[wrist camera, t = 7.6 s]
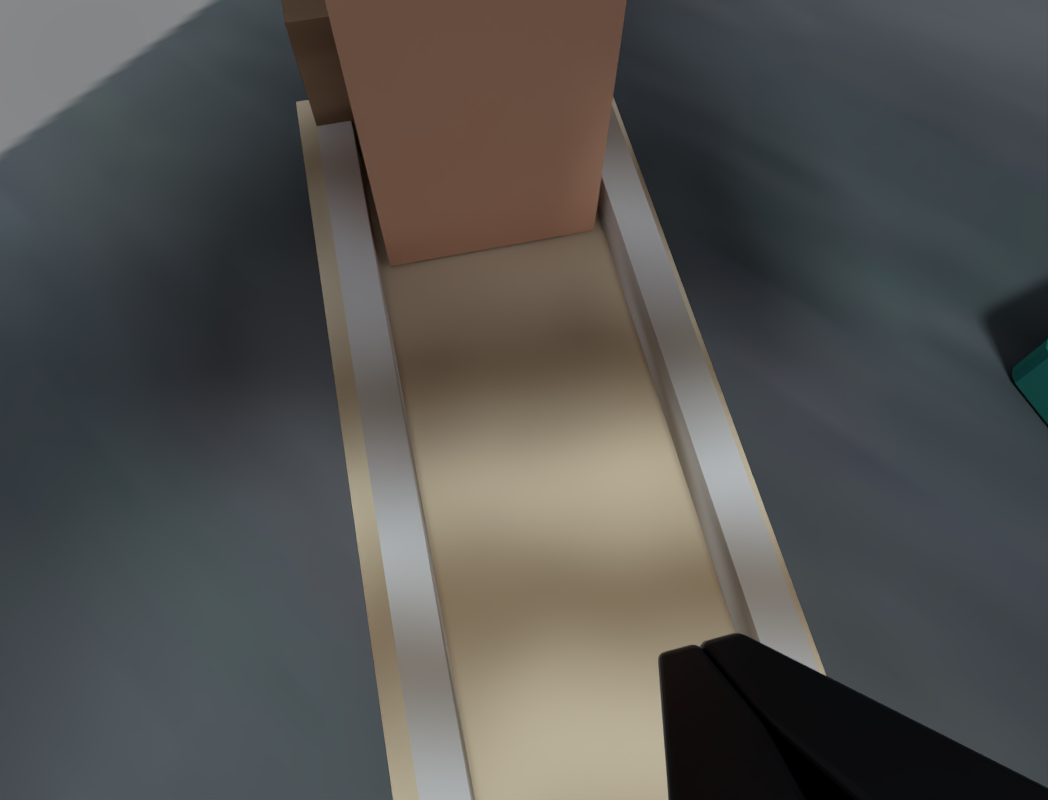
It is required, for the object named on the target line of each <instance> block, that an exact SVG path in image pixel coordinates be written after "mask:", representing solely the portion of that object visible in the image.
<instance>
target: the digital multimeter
mask: <svg viewBox="0 0 1048 800" xmlns="http://www.w3.org/2000/svg"><path fill="white" fill-rule="evenodd" d="M1012 377H1013V380H1014V382H1015V384H1016V385H1017V386H1018V388H1019V389H1020V390H1021V392H1022V393H1023V394H1024V395H1025V397H1026V398H1027V399H1028V401H1029V402H1030V403H1031V404H1032V406H1033V407H1034V408H1035V410H1036V411H1037V412H1038V413H1039V415H1040V416H1041V417H1042V419H1043V420H1044V421H1045V422H1046V424H1047V425H1048V339H1047V340H1046V341H1045V342H1044V343H1042V344H1041V345H1040V346H1039V347H1037V348H1036V349H1035V350H1034V351H1033V352H1031V353H1030V354H1029V355H1028V356H1026V357H1025V358H1024V359H1023V360H1021V361H1020V362H1019V363H1018V364H1017V365H1015V366H1014V367H1013V370H1012Z"/></svg>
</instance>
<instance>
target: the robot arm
mask: <svg viewBox="0 0 1048 800" xmlns="http://www.w3.org/2000/svg"><path fill="white" fill-rule="evenodd" d="M658 669H659V682H660V695H661V709H662V722H663V735H664V749H665V762H666V775H667V789H668V800H1048V788H1047V787H1045V786H1043V785H1041V784H1039V783H1037V782H1035V781H1033V780H1031V779H1029V778H1027V777H1025V776H1023V775H1021V774H1019V773H1017V772H1015V771H1013V770H1011V769H1009V768H1007V767H1005V766H1003V765H1001V764H999V763H997V762H995V761H993V760H991V759H989V758H987V757H985V756H984V755H982V754H980V753H978V752H976V751H974V750H972V749H970V748H968V747H966V746H964V745H962V744H960V743H958V742H956V741H954V740H952V739H950V738H948V737H946V736H944V735H942V734H940V733H938V732H936V731H934V730H932V729H930V728H928V727H926V726H924V725H922V724H920V723H918V722H916V721H914V720H912V719H910V718H908V717H906V716H904V715H902V714H901V713H899V712H897V711H895V710H893V709H891V708H889V707H887V706H885V705H883V704H881V703H879V702H877V701H875V700H873V699H871V698H869V697H867V696H865V695H863V694H861V693H859V692H857V691H855V690H853V689H851V688H849V687H847V686H845V685H843V684H841V683H839V682H837V681H835V680H833V679H831V678H829V677H827V676H825V675H823V674H821V673H819V672H818V671H816V670H814V669H812V668H810V667H808V666H806V665H804V664H802V663H800V662H798V661H796V660H794V659H792V658H790V657H788V656H786V655H784V654H782V653H780V652H778V651H776V650H774V649H772V648H770V647H768V646H766V645H764V644H762V643H760V642H758V641H756V640H754V639H752V638H750V637H748V636H746V635H744V634H741V633H731V634H728V635H724V636H720V637H717V638H713V639H709V640H706V641H704V642H703V643H702V644H701V645H700V647H699V646H697V645H693V644H692V645H687V646H683V647H680V648H676V649H672V650H669V651H665V652H662V653H661V654H660V655H659V657H658Z"/></svg>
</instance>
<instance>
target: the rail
mask: <svg viewBox="0 0 1048 800" xmlns="http://www.w3.org/2000/svg"><path fill="white" fill-rule="evenodd" d="M282 5H283V12H284V20H285V25H286V28H287V31H288V34H289V38H290V41H291V44H292V48H293V51H294V54H295V57H296V61H297V64H298V67H299V70H300V74H301V77H302V80H303V83H304V87H305V90H306V93H307V96H308V100H304V101H298V102H296V106H297V114H298V121H299V128H300V135H301V142H302V149H303V157H304V164H305V171H306V178H307V185H308V192H309V200H310V207H311V214H312V221H313V228H314V235H315V243H316V250H317V257H318V264H319V271H320V278H321V286H322V293H323V300H324V307H325V314H326V321H327V329H328V336H329V343H330V350H331V357H332V364H333V372H334V379H335V386H336V393H337V400H338V407H339V415H340V422H341V429H342V436H343V443H344V451H345V458H346V465H347V472H348V479H349V486H350V494H351V501H352V508H353V515H354V522H355V529H356V537H357V544H358V551H359V558H360V565H361V572H362V580H363V587H364V594H365V601H366V608H367V615H368V623H369V630H370V637H371V644H372V651H373V658H374V666H375V673H376V680H377V687H378V694H379V701H380V709H381V716H382V723H383V730H384V737H385V744H386V752H387V759H388V766H389V773H390V780H391V787H392V795H393V800H668V789H667V775H666V762H665V749H664V735H663V722H662V709H661V695H660V682H659V669H658V657H659V655H660V654H661V653H662V652H665V651H669V650H672V649H676V648H680V647H683V646H687V645H692V644H693V645H697V646H699V647H700V645H701V644H702V643H703V642H704V641H706V640H709V639H713V638H717V637H720V636H724V635H728V634H731V633H741V634H744V635H746V636H748V637H750V638H752V639H754V640H756V641H758V642H760V643H762V644H764V645H766V646H768V647H770V648H772V649H774V650H776V651H778V652H780V653H782V654H784V655H786V656H788V657H790V658H792V659H794V660H796V661H798V662H800V663H802V664H804V665H806V666H808V667H810V668H812V669H814V670H816V671H818V672H819V673H821V674H823V675H825V676H826V674H825V671H824V668H823V666H822V663H821V660H820V657H819V655H818V652H817V649H816V647H815V644H814V641H813V638H812V636H811V633H810V630H809V628H808V625H807V622H806V619H805V617H804V614H803V611H802V609H801V606H800V603H799V600H798V598H797V595H796V592H795V589H794V587H793V584H792V581H791V579H790V576H789V573H788V570H787V568H786V565H785V562H784V560H783V557H782V554H781V551H780V549H779V546H778V543H777V541H776V538H775V535H774V532H773V530H772V527H771V524H770V522H769V519H768V516H767V513H766V511H765V508H764V505H763V502H762V500H761V497H760V494H759V492H758V489H757V486H756V483H755V481H754V478H753V475H752V473H751V470H750V467H749V464H748V462H747V459H746V456H745V454H744V451H743V448H742V445H741V443H740V440H739V437H738V434H737V432H736V429H735V426H734V424H733V421H732V418H731V415H730V413H729V410H728V407H727V405H726V402H725V399H724V396H723V394H722V391H721V388H720V386H719V383H718V380H717V377H716V375H715V372H714V369H713V366H712V364H711V361H710V358H709V356H708V353H707V350H706V347H705V345H704V342H703V339H702V337H701V334H700V331H699V328H698V326H697V323H696V320H695V318H694V315H693V312H692V309H691V307H690V304H689V301H688V298H687V296H686V293H685V290H684V288H683V285H682V282H681V279H680V277H679V274H678V271H677V269H676V266H675V263H674V260H673V258H672V255H671V252H670V250H669V247H668V244H667V241H666V239H665V236H664V233H663V230H662V228H661V225H660V222H659V220H658V217H657V214H656V211H655V209H654V206H653V203H652V201H651V198H650V195H649V192H648V190H647V187H646V184H645V182H644V179H643V176H642V173H641V171H640V168H639V165H638V162H637V160H636V157H635V154H634V152H633V149H632V146H631V143H630V141H629V138H628V135H627V133H626V130H625V127H624V124H623V122H622V119H621V116H620V114H619V111H618V108H617V105H616V103H615V100H614V97H613V100H612V107H611V114H610V121H609V128H608V135H607V142H606V149H605V156H604V163H603V170H602V177H601V184H600V191H599V198H598V204H597V211H596V218H595V225H594V230H591V231H585V232H579V233H574V234H568V235H563V236H557V237H552V238H546V239H540V240H535V241H529V242H524V243H518V244H513V245H507V246H501V247H496V248H490V249H485V250H479V251H474V252H468V253H462V254H457V255H451V256H446V257H440V258H435V259H429V260H423V261H418V262H412V263H407V264H401V265H396V266H390V263H389V259H388V255H387V251H386V247H385V243H384V239H383V235H382V230H381V226H380V222H379V218H378V214H377V210H376V206H375V202H374V198H373V194H372V190H371V186H370V182H369V178H368V174H367V170H366V166H365V161H364V157H363V153H362V149H361V145H360V141H359V137H358V133H357V129H356V125H355V121H354V117H353V113H352V109H351V105H350V101H349V97H348V92H347V88H346V84H345V80H344V76H343V72H342V68H341V64H340V60H339V56H338V52H337V48H336V44H335V40H334V36H333V32H332V28H331V23H330V19H329V15H328V11H327V7H326V3H325V0H282Z"/></svg>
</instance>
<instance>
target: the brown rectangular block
mask: <svg viewBox="0 0 1048 800" xmlns="http://www.w3.org/2000/svg"><path fill="white" fill-rule="evenodd" d="M325 3H326V7H327V11H328V15H329V19H330V23H331V28H332V32H333V36H334V40H335V44H336V48H337V52H338V56H339V60H340V64H341V68H342V72H343V76H344V80H345V84H346V88H347V92H348V97H349V101H350V105H351V109H352V113H353V117H354V121H355V125H356V129H357V133H358V137H359V141H360V145H361V149H362V153H363V157H364V161H365V166H366V170H367V174H368V178H369V182H370V186H371V190H372V194H373V198H374V202H375V206H376V210H377V214H378V218H379V222H380V226H381V230H382V235H383V239H384V243H385V247H386V251H387V255H388V259H389V263H390V266H396V265H401V264H407V263H412V262H418V261H423V260H429V259H435V258H440V257H446V256H451V255H457V254H462V253H468V252H474V251H479V250H485V249H490V248H496V247H501V246H507V245H513V244H518V243H524V242H529V241H535V240H540V239H546V238H552V237H557V236H563V235H568V234H574V233H579V232H585V231H591V230H594V225H595V218H596V211H597V204H598V198H599V191H600V184H601V177H602V170H603V163H604V156H605V149H606V142H607V135H608V128H609V121H610V114H611V107H612V100H613V93H614V86H615V79H616V72H617V65H618V58H619V51H620V44H621V37H622V30H623V23H624V17H625V10H626V3H627V0H325Z"/></svg>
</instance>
